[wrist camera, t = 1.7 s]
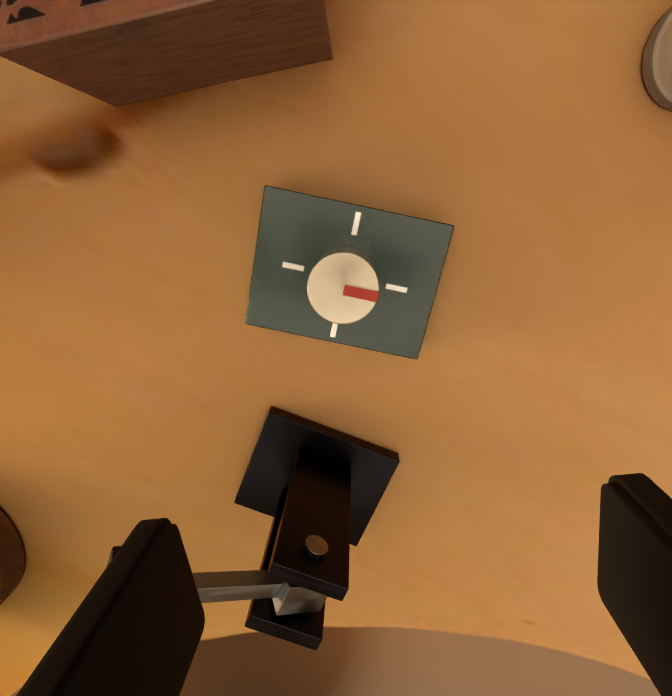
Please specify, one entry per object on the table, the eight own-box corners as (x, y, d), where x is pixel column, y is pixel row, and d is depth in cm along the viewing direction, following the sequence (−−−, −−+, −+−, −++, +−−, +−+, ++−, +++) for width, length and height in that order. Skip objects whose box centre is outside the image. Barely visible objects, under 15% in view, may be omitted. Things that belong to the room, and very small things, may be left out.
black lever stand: (237, 494, 37) (179, 633, 25) (271, 405, 34) (224, 512, 22) (356, 536, 38) (356, 691, 26) (398, 453, 35) (420, 581, 23)
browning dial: (309, 300, 29) (300, 317, 24) (320, 239, 27) (313, 245, 23) (368, 313, 29) (370, 332, 24) (382, 252, 27) (387, 261, 23)
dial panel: (254, 314, 32) (244, 324, 29) (273, 187, 29) (263, 184, 26) (412, 346, 32) (417, 360, 29) (445, 224, 30) (455, 225, 27)
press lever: (93, 607, 22) (86, 654, 20) (113, 534, 21) (109, 577, 19) (300, 592, 28) (311, 628, 26) (328, 534, 26) (342, 567, 25)
